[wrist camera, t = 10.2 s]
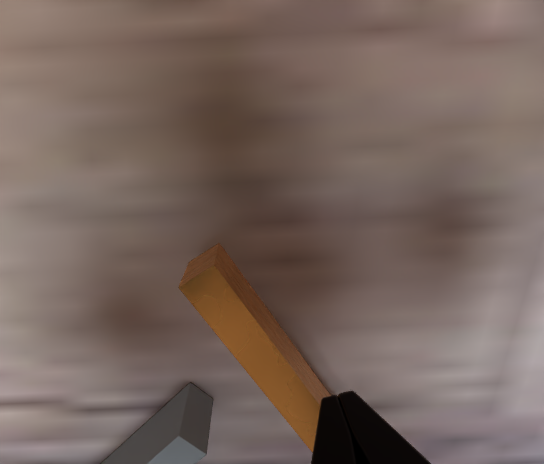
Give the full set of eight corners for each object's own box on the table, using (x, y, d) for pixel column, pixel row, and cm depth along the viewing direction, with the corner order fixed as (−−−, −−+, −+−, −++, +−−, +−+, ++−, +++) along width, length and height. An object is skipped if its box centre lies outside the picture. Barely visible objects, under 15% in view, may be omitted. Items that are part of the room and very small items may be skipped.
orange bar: (444, 527, 19) (469, 578, 17) (397, 551, 19) (415, 603, 17) (236, 231, 13) (234, 252, 11) (172, 272, 13) (158, 299, 11)
